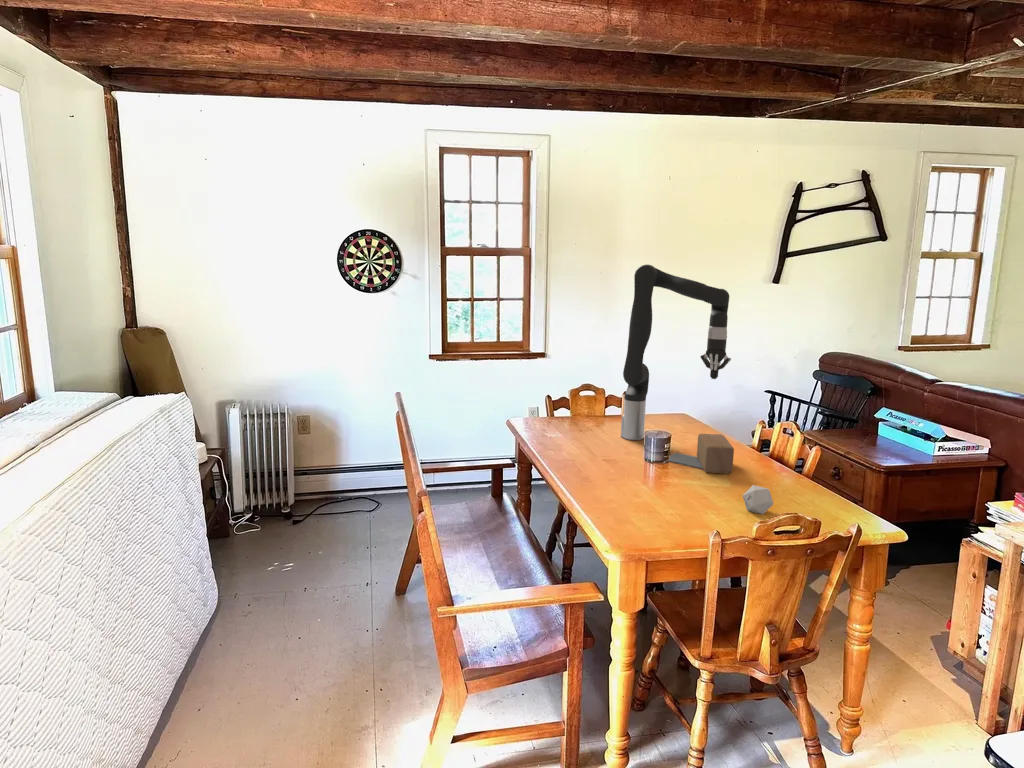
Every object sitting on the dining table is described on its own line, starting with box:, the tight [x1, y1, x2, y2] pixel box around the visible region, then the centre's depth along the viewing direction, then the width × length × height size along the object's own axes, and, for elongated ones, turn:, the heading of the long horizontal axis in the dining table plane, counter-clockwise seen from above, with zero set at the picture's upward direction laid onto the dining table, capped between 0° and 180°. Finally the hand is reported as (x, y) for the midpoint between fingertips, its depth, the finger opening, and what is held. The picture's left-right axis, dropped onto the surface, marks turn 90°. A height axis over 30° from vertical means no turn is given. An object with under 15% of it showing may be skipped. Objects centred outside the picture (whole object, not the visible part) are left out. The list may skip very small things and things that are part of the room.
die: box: [741, 484, 774, 515], centre depth 212 cm, size 8×9×10 cm
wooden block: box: [696, 433, 735, 474], centre depth 257 cm, size 10×10×20 cm
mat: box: [667, 452, 705, 471], centre depth 264 cm, size 20×12×1 cm, turn 49°
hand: (713, 378), depth 284 cm, fingers closed
